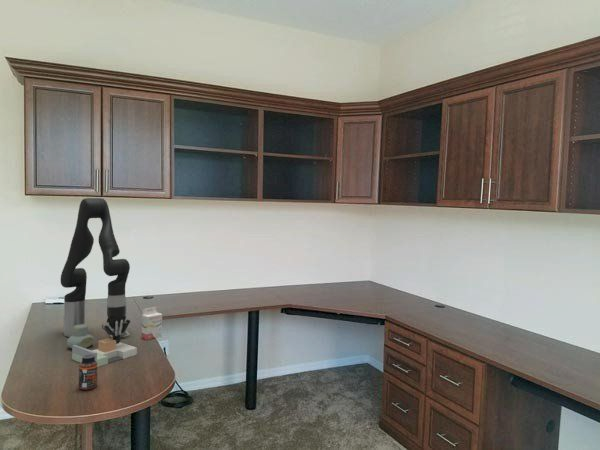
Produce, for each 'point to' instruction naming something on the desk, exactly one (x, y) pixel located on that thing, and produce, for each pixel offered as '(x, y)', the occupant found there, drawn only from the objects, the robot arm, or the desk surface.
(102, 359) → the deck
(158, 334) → the ink cartridge box
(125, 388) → the desk surface
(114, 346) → the block
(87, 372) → the supplement bottle
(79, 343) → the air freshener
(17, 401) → the desk surface
